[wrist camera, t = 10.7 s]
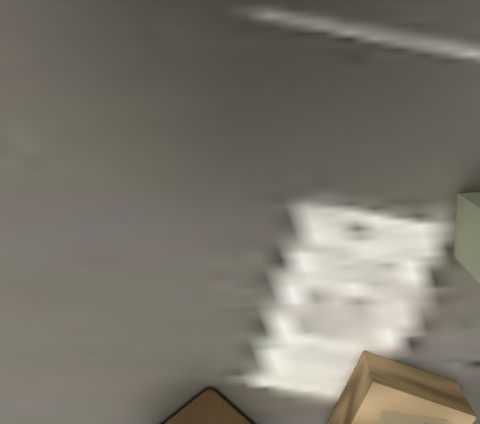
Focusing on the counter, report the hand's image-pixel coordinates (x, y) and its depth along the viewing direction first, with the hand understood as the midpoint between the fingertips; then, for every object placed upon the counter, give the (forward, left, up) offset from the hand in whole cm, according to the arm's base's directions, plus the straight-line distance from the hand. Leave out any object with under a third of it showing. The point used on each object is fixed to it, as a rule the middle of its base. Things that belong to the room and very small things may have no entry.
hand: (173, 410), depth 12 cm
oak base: (+21, +19, -29) cm, 41 cm away
